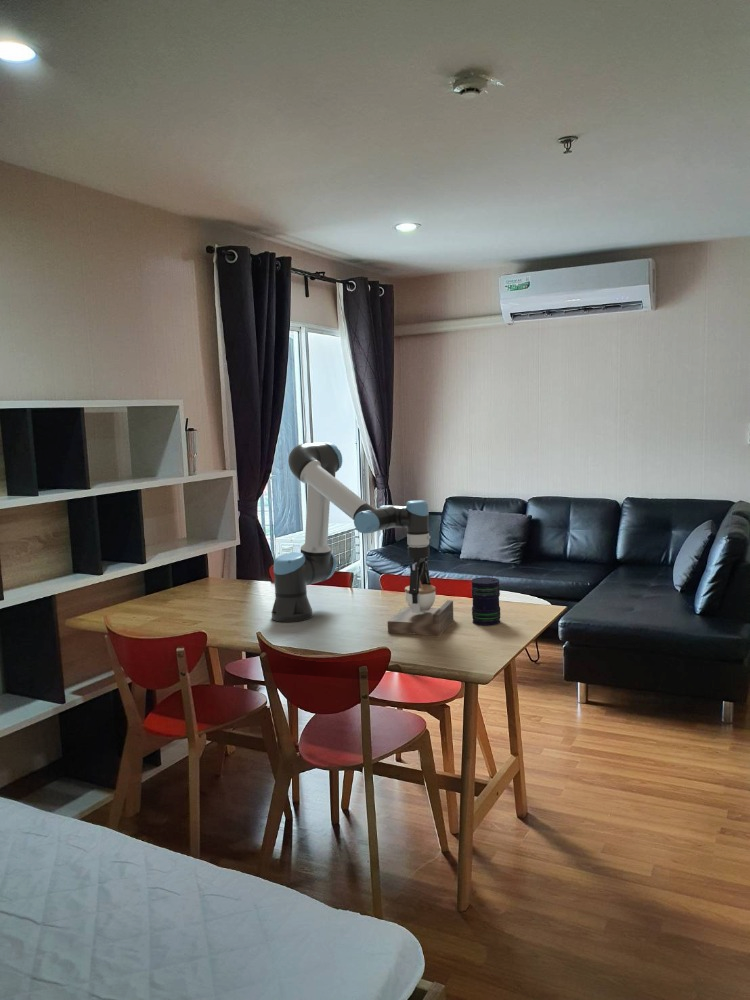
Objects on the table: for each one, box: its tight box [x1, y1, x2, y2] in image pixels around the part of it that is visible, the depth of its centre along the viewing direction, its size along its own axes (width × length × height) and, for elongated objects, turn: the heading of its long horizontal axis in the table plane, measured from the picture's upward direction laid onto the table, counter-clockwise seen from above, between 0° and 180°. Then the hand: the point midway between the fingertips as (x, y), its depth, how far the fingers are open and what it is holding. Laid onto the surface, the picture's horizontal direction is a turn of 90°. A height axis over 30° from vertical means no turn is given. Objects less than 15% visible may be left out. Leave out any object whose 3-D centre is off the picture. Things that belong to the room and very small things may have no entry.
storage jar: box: [470, 576, 501, 627], centre depth 268 cm, size 10×10×15 cm
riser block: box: [387, 600, 455, 636], centre depth 267 cm, size 18×20×7 cm
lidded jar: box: [404, 582, 437, 612], centre depth 267 cm, size 11×11×9 cm
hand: (420, 608), depth 267 cm, fingers closed on lidded jar, 11 cm apart
